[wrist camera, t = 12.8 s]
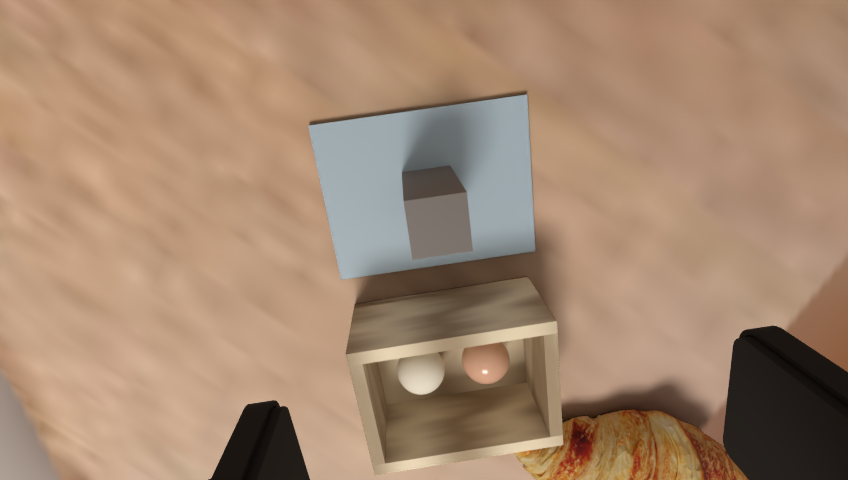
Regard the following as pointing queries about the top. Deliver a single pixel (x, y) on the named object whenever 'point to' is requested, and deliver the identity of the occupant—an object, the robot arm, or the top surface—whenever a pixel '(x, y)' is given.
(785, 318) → the top surface
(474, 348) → the ball terracotta
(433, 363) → the ball cream
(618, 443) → the croissant
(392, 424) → the box
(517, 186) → the lid
